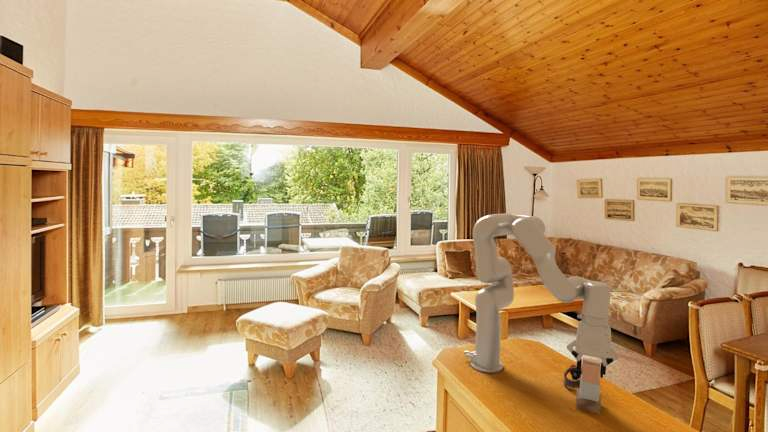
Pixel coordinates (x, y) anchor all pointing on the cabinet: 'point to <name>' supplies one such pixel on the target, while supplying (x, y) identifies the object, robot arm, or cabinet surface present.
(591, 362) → the terracotta block
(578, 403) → the tan cardboard-coloured box
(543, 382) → the cabinet surface
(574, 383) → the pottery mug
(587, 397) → the greyblue cube
